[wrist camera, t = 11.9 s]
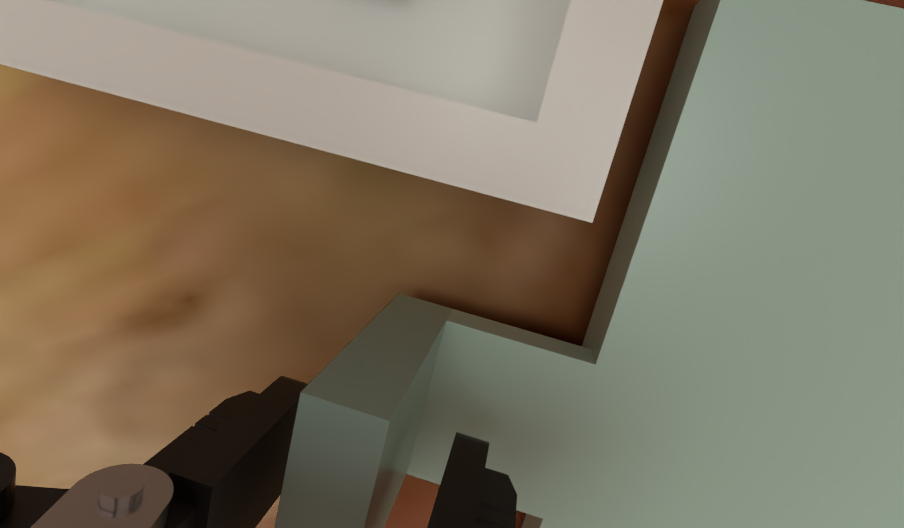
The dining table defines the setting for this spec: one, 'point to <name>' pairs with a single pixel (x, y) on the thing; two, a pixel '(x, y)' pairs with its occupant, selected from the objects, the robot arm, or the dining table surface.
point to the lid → (677, 317)
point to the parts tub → (373, 78)
